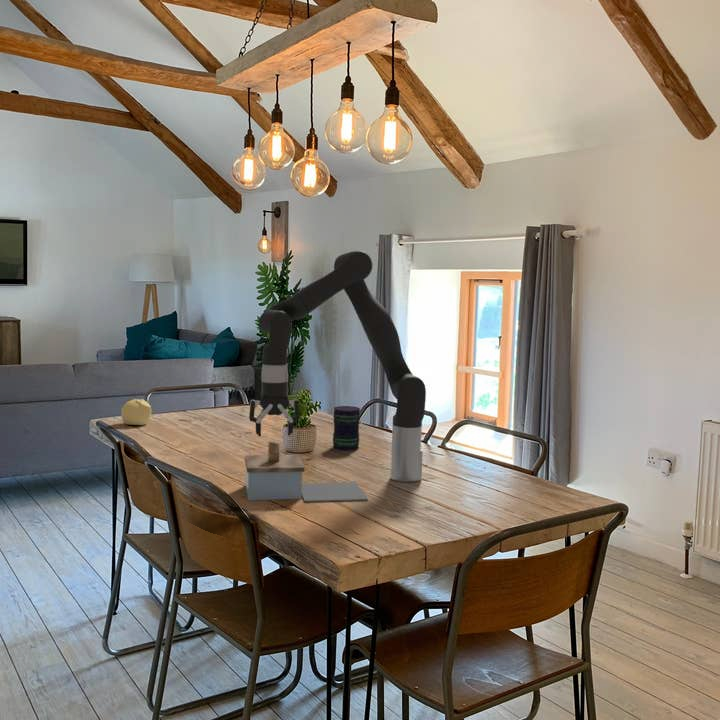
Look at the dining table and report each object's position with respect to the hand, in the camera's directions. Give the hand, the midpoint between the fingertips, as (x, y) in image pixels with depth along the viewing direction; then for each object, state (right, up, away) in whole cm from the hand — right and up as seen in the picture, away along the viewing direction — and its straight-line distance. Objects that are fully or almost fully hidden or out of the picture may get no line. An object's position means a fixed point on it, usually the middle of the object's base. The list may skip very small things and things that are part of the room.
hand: (274, 435), depth 223 cm
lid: (0, -9, +1) cm, 9 cm away
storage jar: (+20, -11, +64) cm, 68 cm away
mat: (+16, -17, +3) cm, 24 cm away
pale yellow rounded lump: (-67, -5, +95) cm, 116 cm away
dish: (-1, -17, +2) cm, 17 cm away
